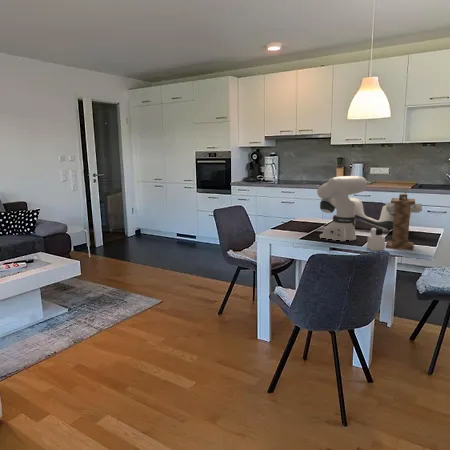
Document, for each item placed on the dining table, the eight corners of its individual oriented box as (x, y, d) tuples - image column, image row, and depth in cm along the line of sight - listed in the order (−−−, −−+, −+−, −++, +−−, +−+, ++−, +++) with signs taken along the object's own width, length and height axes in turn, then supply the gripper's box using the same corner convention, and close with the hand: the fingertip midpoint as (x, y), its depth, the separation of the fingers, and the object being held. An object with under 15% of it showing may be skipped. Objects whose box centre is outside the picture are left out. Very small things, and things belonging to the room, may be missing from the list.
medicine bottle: (379, 247, 220) (380, 226, 218) (384, 250, 213) (386, 229, 211) (366, 247, 220) (368, 227, 217) (371, 250, 213) (373, 229, 210)
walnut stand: (385, 247, 219) (388, 200, 213) (387, 242, 229) (390, 197, 224) (413, 250, 213) (417, 201, 207) (413, 245, 223) (416, 198, 218)
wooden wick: (399, 200, 215) (399, 194, 214) (399, 196, 229) (400, 191, 228) (406, 200, 213) (407, 195, 212) (407, 196, 227) (407, 191, 226)
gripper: (421, 216, 241) (422, 208, 229) (386, 214, 249) (385, 206, 237) (422, 206, 242) (423, 198, 230) (386, 205, 251) (386, 197, 239)
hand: (403, 202), depth 234 cm, fingers open, 8 cm apart
